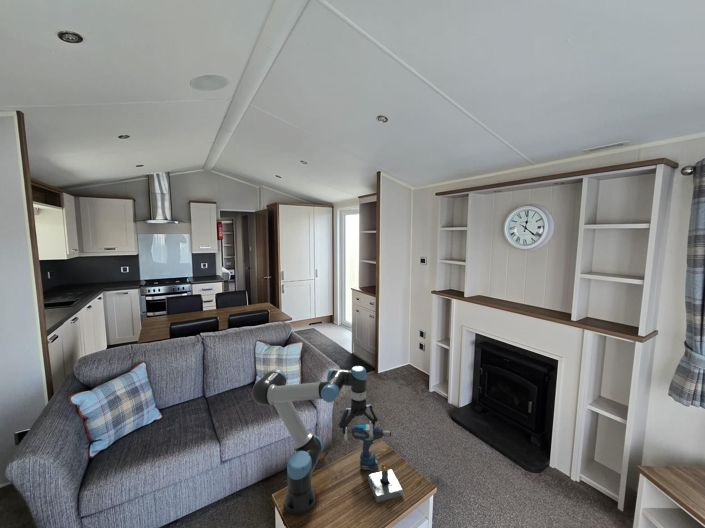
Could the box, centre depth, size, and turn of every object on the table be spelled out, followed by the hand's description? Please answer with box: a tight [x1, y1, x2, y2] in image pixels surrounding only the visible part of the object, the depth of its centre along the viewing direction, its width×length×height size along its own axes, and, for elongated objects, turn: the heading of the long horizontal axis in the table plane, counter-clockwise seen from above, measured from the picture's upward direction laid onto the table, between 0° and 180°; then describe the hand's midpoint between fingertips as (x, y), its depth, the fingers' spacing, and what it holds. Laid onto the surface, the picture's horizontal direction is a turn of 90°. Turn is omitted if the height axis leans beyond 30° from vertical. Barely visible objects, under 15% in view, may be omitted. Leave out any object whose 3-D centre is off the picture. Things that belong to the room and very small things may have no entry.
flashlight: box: [381, 464, 389, 486], centre depth 165 cm, size 6×4×12 cm, turn 17°
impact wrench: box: [351, 423, 392, 472], centre depth 179 cm, size 8×22×25 cm, turn 78°
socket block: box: [367, 469, 403, 503], centre depth 166 cm, size 14×14×4 cm
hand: (358, 436), depth 160 cm, fingers open, 13 cm apart
